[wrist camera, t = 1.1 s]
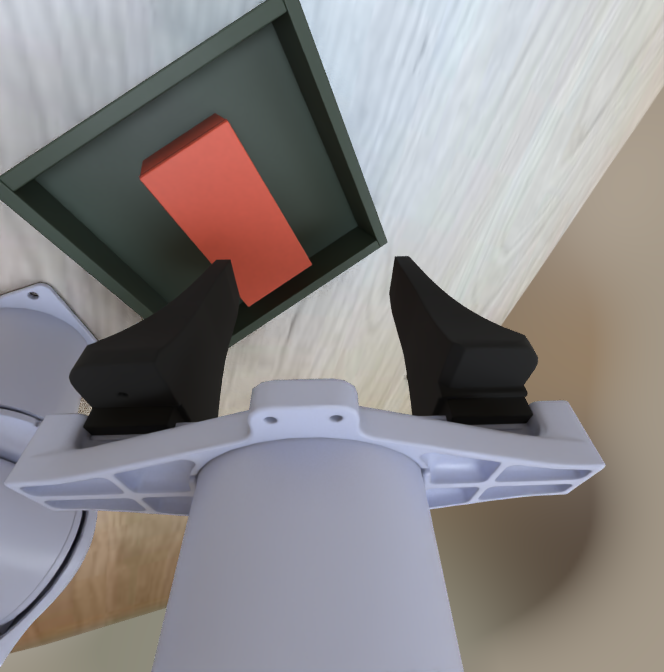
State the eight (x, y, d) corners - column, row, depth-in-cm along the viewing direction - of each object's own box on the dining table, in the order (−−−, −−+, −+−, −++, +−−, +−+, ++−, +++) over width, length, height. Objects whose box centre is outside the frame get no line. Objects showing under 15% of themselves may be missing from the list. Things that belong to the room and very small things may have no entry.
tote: (197, 337, 27) (201, 366, 25) (10, 169, 18) (-17, 186, 15) (365, 226, 27) (387, 242, 25) (272, -4, 18) (293, -18, 15)
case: (236, 277, 25) (248, 307, 22) (141, 160, 19) (137, 178, 16) (292, 240, 25) (313, 265, 22) (215, 111, 19) (227, 119, 16)
